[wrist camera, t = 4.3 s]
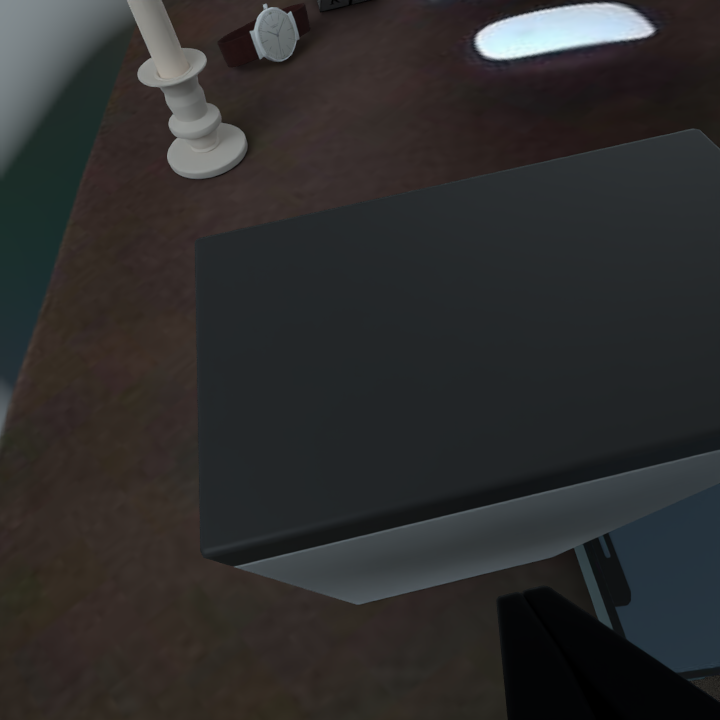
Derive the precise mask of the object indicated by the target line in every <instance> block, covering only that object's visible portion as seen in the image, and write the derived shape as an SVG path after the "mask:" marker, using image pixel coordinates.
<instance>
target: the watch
mask: <svg viewBox="0 0 720 720" xmlns="http://www.w3.org/2000/svg"><path fill="white" fill-rule="evenodd" d="M263 7H264V9H265V10H263V11H262V12H261V13H260V15H259V16H258V17H257V19H255V20H254V21H253V22H250V23H248V24H246V25H245V26H243V27H241V28H239V29H237V30H235V31H233V32H231V33H229V34H228V35H226V36H224V37H223V38H221V39H220V40H219V41H218V45H219V48H220V50H221V52H222V54H223V56H224V59H225V61H226V63H227V65H228V67H236V66H240V65H243V64H246V63H248V62H251V61H253V60H255V59H257V58H260V59H262V58H263V57H265V58H267V59H268V60H271V61H273V62H281V61H284V60H286V59H287V58H289V57H290V56H291V54H292V53H293V51H294V49H295V45H296V41H297V40H299V37H301V36H302V35H304V34H306V33H307V32H308V31H309V30H310V27H309V20H308V16H307V11H306V7H305V4H304V3H302V4H297V5H293V6H290V7H287V8H284V9H281V10H280V9H278V8H272V7H271V8H268V6H267V4H264V5H263ZM267 8H268V9H267Z"/></svg>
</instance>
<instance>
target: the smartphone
mask: <svg viewBox="0 0 720 720" xmlns="http://www.w3.org/2000/svg"><path fill="white" fill-rule="evenodd" d="M574 550H575V553H576V556H577V558H578V561H579V564H580V567H581V570H582V573H583V576H584V579H585V582H586V585H587V588H588V591H589V593H590V596H591V599H592V602H593V605H594V608H595V611H596V614H597V617H598V620H599V621H600V622H602V623H603V624H605V625H606V626H608V627H609V628H611V629H612V630H614V631H615V632H617V633H618V634H620V635H621V636H623V637H624V638H626V639H627V640H629V641H630V642H631V643H633V644H634V645H636V646H637V647H639V648H640V649H642V650H643V651H645V652H646V653H648V654H649V655H651V656H652V657H654V658H655V659H657V660H658V661H660V662H661V663H663V664H664V665H666V666H667V667H668V668H670V669H671V670H673V671H674V672H676V673H677V674H679V675H680V676H682V677H683V678H685V679H686V680H688V681H692V680H699V679H705V677H707V676H714V675H720V483H719V484H716V485H714V486H712V487H710V488H707V489H705V490H703V491H701V492H698V493H696V494H694V495H692V496H689V497H687V498H685V499H683V500H680V501H678V502H676V503H673V504H671V505H669V506H667V507H664V508H662V509H660V510H658V511H655V512H653V513H651V514H649V515H646V516H644V517H642V518H640V519H637V520H635V521H633V522H631V523H628V524H626V525H624V526H622V527H619V528H617V529H615V530H613V531H610V532H608V533H606V534H603V535H601V536H599V537H597V538H594V539H592V540H590V541H588V542H585V543H583V544H581V545H579V546H576V547H574Z"/></svg>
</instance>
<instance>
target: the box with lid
mask: <svg viewBox="0 0 720 720" xmlns="http://www.w3.org/2000/svg"><path fill="white" fill-rule="evenodd" d="M195 281H196V335H197V389H198V443H199V498H200V551H201V553H202V555H203V557H204V558H207V559H210V560H214V561H217V562H220V563H223V564H227V565H230V566H234V567H236V568H240V569H243V570H246V571H249V572H253V573H256V574H259V575H262V576H266V577H269V578H272V579H275V580H279V581H282V582H285V583H288V584H292V585H295V586H298V587H301V588H305V589H308V590H311V591H314V592H318V593H321V594H324V595H327V596H331V597H334V598H337V599H340V600H344V601H347V602H350V603H353V604H357V605H359V604H363V603H367V602H371V601H376V600H380V599H384V598H388V597H392V596H396V595H400V594H404V593H408V592H412V591H416V590H421V589H425V588H429V587H433V586H437V585H441V584H445V583H449V582H453V581H457V580H461V579H466V578H470V577H474V576H478V575H482V574H486V573H490V572H494V571H498V570H502V569H506V568H510V567H515V566H519V565H523V564H527V563H531V562H535V561H539V560H543V559H547V558H551V557H554V556H556V555H558V554H561V553H563V552H565V551H567V550H570V549H572V548H574V547H576V546H579V545H581V544H583V543H585V542H588V541H590V540H592V539H594V538H597V537H599V536H601V535H603V534H606V533H608V532H610V531H613V530H615V529H617V528H619V527H622V526H624V525H626V524H628V523H631V522H633V521H635V520H637V519H640V518H642V517H644V516H646V515H649V514H651V513H653V512H655V511H658V510H660V509H662V508H664V507H667V506H669V505H671V504H673V503H676V502H678V501H680V500H683V499H685V498H687V497H689V496H692V495H694V494H696V493H698V492H701V491H703V490H705V489H707V488H710V487H712V486H714V485H716V484H719V483H720V148H718V147H717V146H716V145H715V144H714V143H713V142H712V141H711V140H710V139H709V138H708V137H707V136H706V135H705V134H704V133H703V132H701V131H700V130H698V129H689V130H685V131H680V132H676V133H671V134H667V135H662V136H658V137H653V138H649V139H644V140H640V141H635V142H630V143H626V144H621V145H617V146H612V147H608V148H603V149H599V150H594V151H590V152H585V153H581V154H576V155H572V156H567V157H563V158H558V159H554V160H549V161H545V162H540V163H536V164H531V165H527V166H522V167H518V168H513V169H509V170H504V171H500V172H495V173H491V174H486V175H482V176H477V177H473V178H468V179H464V180H459V181H455V182H450V183H446V184H441V185H437V186H432V187H428V188H423V189H419V190H414V191H410V192H405V193H401V194H396V195H392V196H387V197H383V198H378V199H374V200H369V201H365V202H360V203H356V204H351V205H346V206H342V207H337V208H333V209H328V210H324V211H319V212H315V213H310V214H306V215H301V216H297V217H292V218H288V219H283V220H279V221H274V222H270V223H265V224H261V225H256V226H252V227H247V228H243V229H238V230H234V231H229V232H225V233H220V234H216V235H211V236H207V237H202V238H199V239H197V240H196V241H195Z"/></svg>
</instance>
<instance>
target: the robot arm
mask: <svg viewBox="0 0 720 720" xmlns="http://www.w3.org/2000/svg"><path fill="white" fill-rule="evenodd" d="M497 612H498V623H499V633H500V644H501V654H502V664H503V675H504V685H505V695H506V706H507V716H508V720H720V702H719V701H717V700H716V699H714V698H713V697H711V696H710V695H708V694H707V693H705V692H704V691H703V690H701V689H700V688H698V687H697V686H695V685H694V684H692V683H691V682H689V681H688V680H686V679H685V678H683V677H682V676H680V675H679V674H677V673H676V672H674V671H673V670H671V669H670V668H668V667H667V666H666V665H664V664H663V663H661V662H660V661H658V660H657V659H655V658H654V657H652V656H651V655H649V654H648V653H646V652H645V651H643V650H642V649H640V648H639V647H637V646H636V645H634V644H633V643H631V642H630V641H629V640H627V639H626V638H624V637H623V636H621V635H620V634H618V633H617V632H615V631H614V630H612V629H611V628H609V627H608V626H606V625H605V624H603V623H602V622H600V621H599V620H597V619H596V618H594V617H593V616H591V615H590V614H589V613H587V612H586V611H584V610H583V609H581V608H580V607H578V606H577V605H575V604H574V603H572V602H571V601H569V600H568V599H566V598H565V597H563V596H562V595H560V594H559V593H557V592H556V591H554V590H553V589H552V588H550V587H548V586H539V587H535V588H531V589H527V590H524V591H523V592H522V594H521V593H519V592H515V593H511V594H507V595H503V596H499V597H498V598H497Z"/></svg>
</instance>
